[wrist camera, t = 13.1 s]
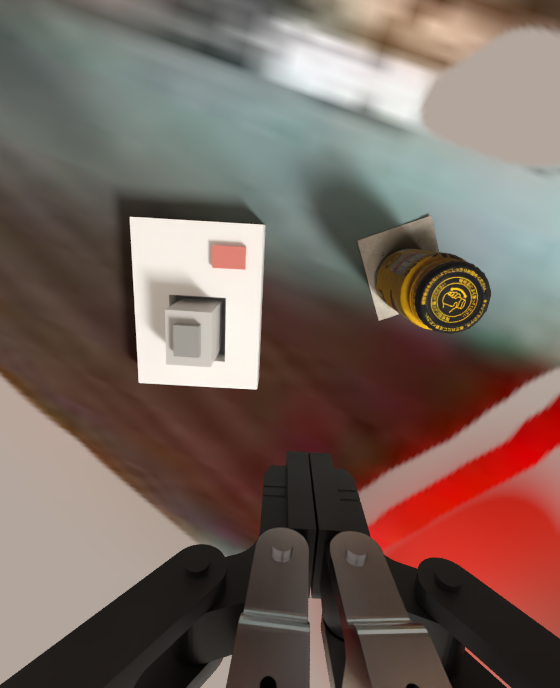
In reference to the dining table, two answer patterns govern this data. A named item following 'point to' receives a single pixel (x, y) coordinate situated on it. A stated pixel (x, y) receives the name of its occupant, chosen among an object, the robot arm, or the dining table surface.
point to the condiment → (423, 279)
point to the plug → (193, 332)
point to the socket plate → (198, 295)
